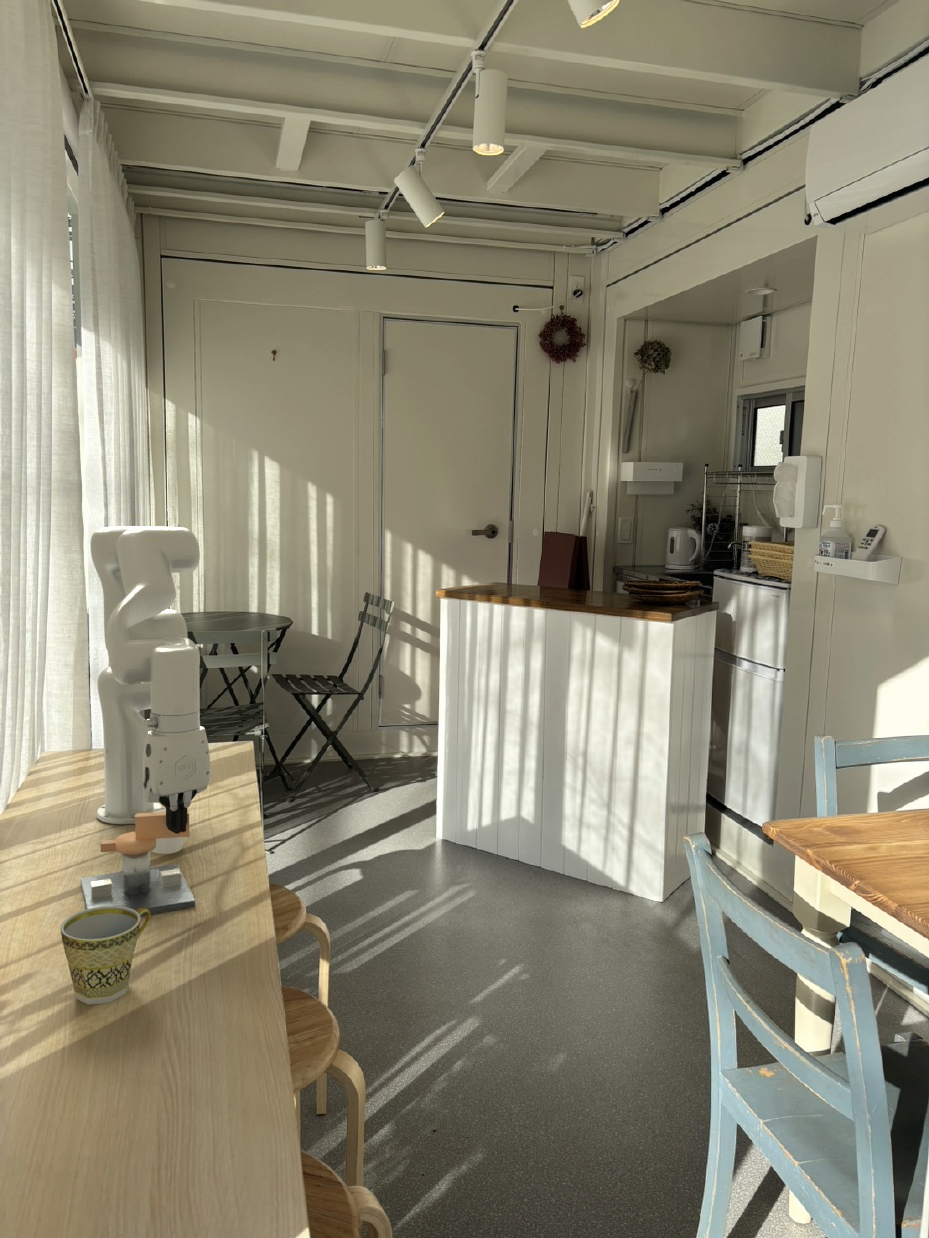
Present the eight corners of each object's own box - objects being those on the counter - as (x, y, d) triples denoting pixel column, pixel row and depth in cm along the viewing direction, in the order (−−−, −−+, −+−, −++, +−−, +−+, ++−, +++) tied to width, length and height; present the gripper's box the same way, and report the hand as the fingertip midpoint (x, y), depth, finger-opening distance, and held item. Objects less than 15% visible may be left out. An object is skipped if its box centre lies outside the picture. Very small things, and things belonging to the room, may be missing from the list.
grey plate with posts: (80, 884, 158) (79, 838, 157) (177, 870, 166) (177, 826, 164) (89, 924, 144) (88, 874, 143) (195, 907, 151) (194, 859, 150)
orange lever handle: (99, 858, 149) (98, 824, 148) (103, 843, 155) (102, 810, 154) (189, 851, 153) (189, 818, 152) (189, 837, 159) (189, 805, 158)
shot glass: (174, 857, 171) (174, 820, 170) (140, 852, 173) (140, 816, 172) (192, 843, 178) (192, 808, 177) (159, 839, 179) (159, 804, 178)
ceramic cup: (94, 1020, 119) (92, 947, 118) (46, 996, 124) (44, 925, 123) (174, 977, 130) (173, 910, 129) (127, 956, 135) (126, 891, 134)
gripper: (143, 733, 142) (145, 848, 145) (228, 718, 153) (229, 825, 155) (120, 724, 147) (122, 835, 150) (204, 710, 158) (204, 814, 160)
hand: (176, 830), depth 152 cm, fingers closed
